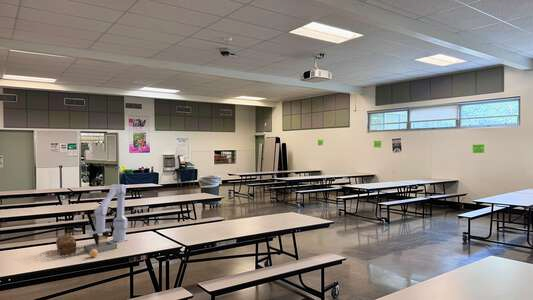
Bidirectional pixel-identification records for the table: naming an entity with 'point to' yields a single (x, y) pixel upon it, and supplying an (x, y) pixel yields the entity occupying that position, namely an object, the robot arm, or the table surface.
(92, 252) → the egg
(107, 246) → the bin
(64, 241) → the bread
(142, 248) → the table surface
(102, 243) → the carton
